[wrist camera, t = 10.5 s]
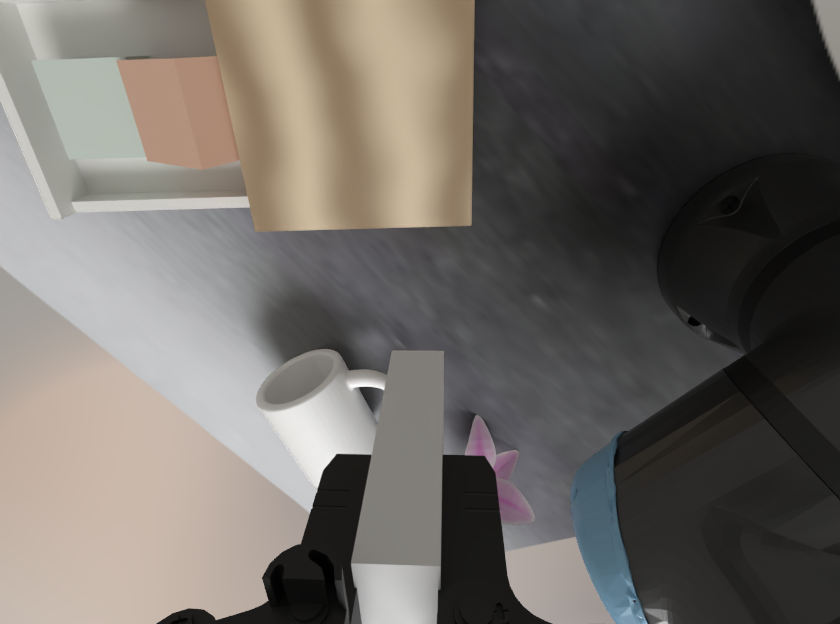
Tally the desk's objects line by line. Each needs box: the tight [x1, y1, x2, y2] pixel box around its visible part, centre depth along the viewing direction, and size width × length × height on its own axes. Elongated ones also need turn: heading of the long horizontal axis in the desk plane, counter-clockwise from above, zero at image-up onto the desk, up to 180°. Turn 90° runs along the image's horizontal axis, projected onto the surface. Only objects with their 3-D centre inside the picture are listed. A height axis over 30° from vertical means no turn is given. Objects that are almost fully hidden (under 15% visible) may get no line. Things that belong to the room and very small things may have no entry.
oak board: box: [205, 0, 475, 232], centre depth 31 cm, size 15×16×5 cm
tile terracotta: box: [116, 56, 240, 170], centre depth 30 cm, size 6×6×3 cm
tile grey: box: [31, 56, 151, 160], centre depth 32 cm, size 6×6×3 cm
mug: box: [256, 349, 387, 488], centre depth 43 cm, size 12×10×8 cm
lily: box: [465, 415, 535, 525], centre depth 47 cm, size 12×12×10 cm
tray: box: [0, 0, 250, 219], centre depth 32 cm, size 15×14×4 cm
